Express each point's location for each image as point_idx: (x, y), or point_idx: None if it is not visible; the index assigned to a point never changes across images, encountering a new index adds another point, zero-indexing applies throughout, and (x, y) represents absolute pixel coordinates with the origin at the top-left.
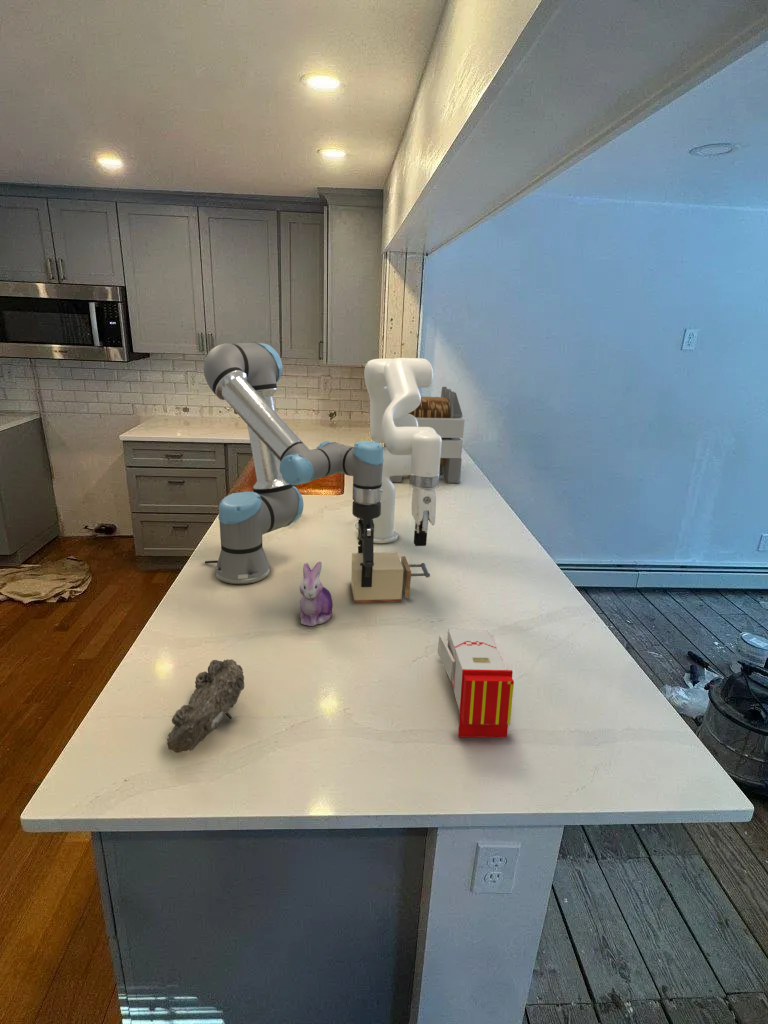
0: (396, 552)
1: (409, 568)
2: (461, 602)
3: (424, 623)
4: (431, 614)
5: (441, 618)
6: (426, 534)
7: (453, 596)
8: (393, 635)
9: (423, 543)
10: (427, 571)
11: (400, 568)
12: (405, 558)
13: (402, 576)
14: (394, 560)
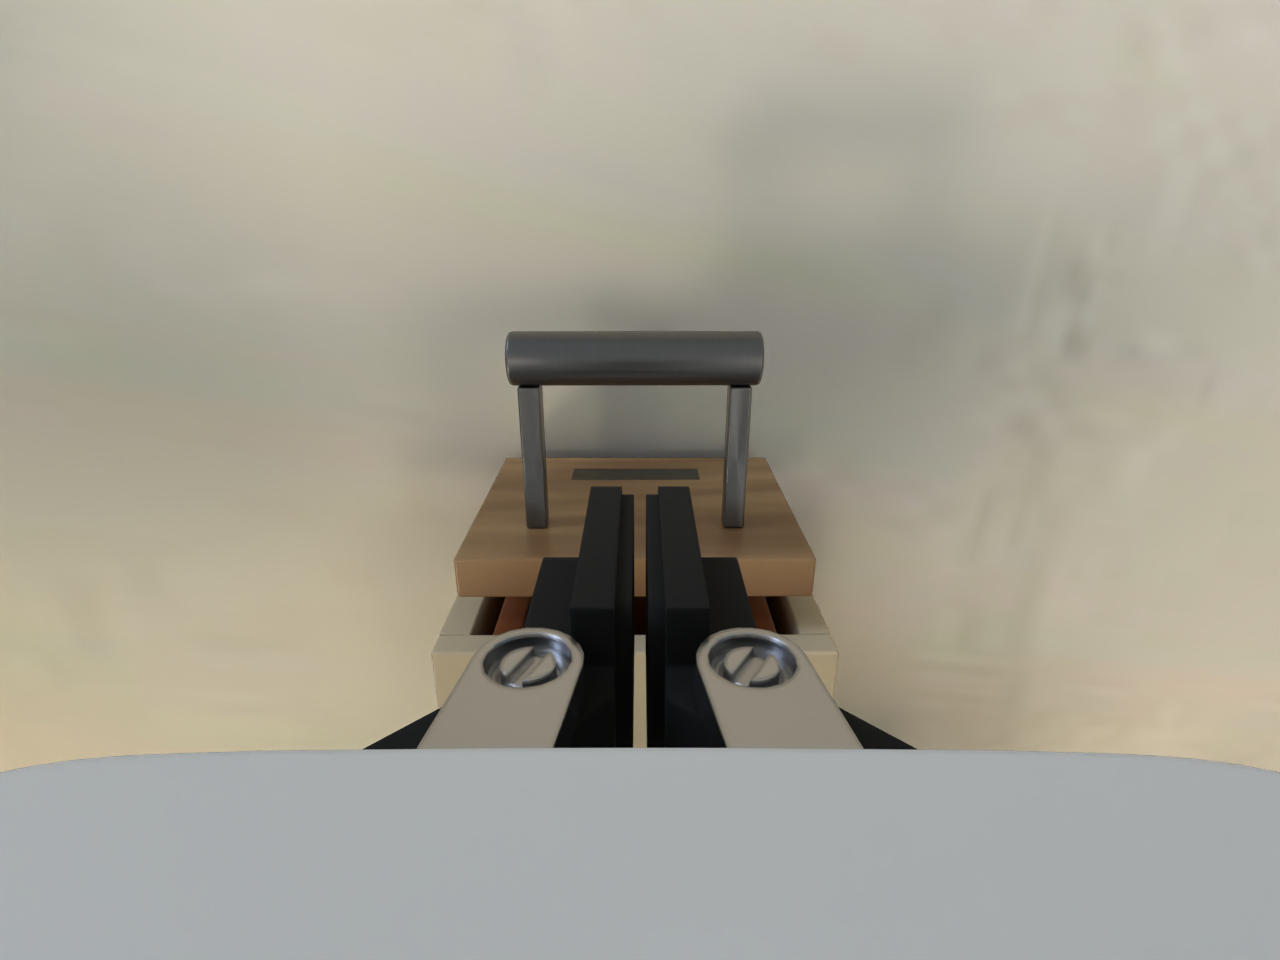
0: (435, 661)
1: (755, 566)
2: (844, 15)
3: (1080, 401)
4: (978, 328)
5: (1050, 265)
6: (707, 593)
7: (729, 66)
8: (1151, 601)
9: (731, 559)
10: (725, 359)
11: (822, 674)
12: (513, 567)
13: (818, 610)
14: (634, 701)
